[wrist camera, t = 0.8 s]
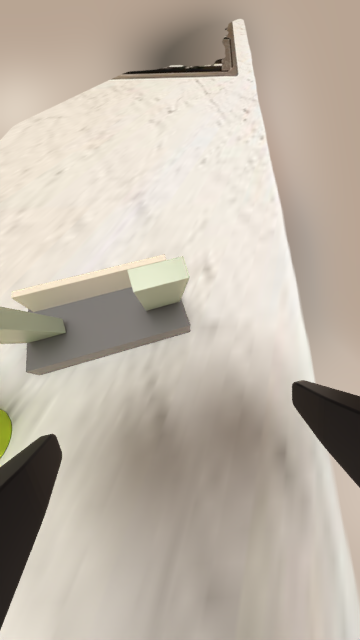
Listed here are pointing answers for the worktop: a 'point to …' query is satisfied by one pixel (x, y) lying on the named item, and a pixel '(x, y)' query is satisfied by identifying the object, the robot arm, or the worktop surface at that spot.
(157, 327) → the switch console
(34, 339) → the hold switch
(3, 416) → the soap dispenser
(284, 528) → the worktop surface
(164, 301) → the flip switch
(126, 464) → the worktop surface
